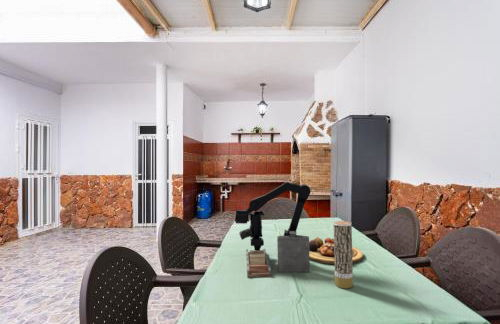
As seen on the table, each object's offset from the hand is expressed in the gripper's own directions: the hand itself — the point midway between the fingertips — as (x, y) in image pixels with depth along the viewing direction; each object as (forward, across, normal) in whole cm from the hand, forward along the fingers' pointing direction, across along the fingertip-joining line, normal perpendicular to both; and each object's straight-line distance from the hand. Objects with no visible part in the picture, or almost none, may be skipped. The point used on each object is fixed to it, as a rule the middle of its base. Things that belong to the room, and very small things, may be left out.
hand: (256, 254), depth 138 cm
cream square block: (+2, +5, 0) cm, 6 cm away
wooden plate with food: (+4, -8, +40) cm, 41 cm away
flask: (+4, +13, +16) cm, 21 cm away
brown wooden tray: (+4, +4, 0) cm, 5 cm away
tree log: (+4, +29, +34) cm, 44 cm away
